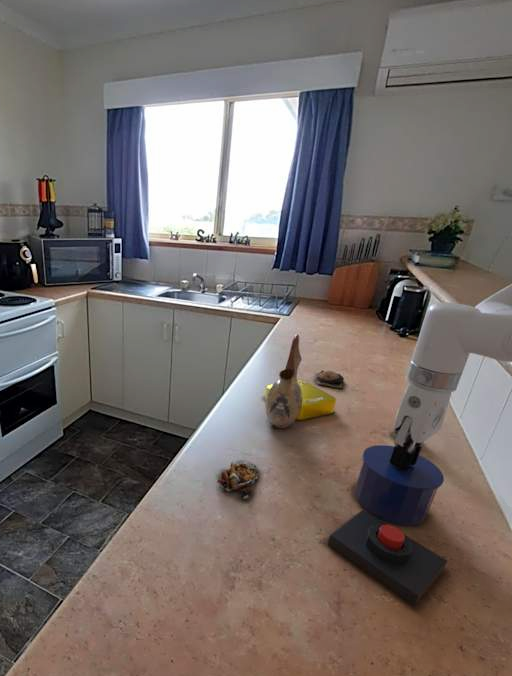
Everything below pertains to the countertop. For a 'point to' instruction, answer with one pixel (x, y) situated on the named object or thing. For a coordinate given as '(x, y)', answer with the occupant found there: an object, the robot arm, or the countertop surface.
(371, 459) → the blue round disc
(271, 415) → the ceramic vessel
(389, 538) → the release button
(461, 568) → the countertop surface
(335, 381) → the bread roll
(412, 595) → the block
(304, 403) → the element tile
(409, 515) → the tin
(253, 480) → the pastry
